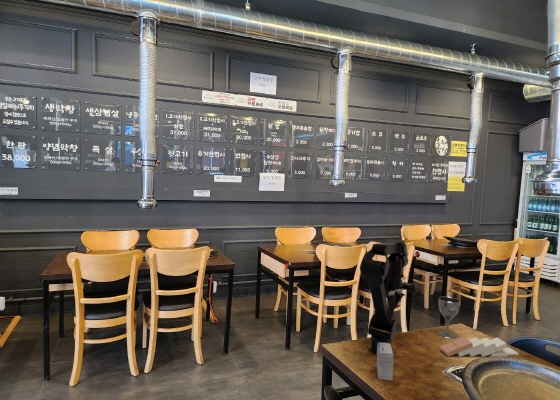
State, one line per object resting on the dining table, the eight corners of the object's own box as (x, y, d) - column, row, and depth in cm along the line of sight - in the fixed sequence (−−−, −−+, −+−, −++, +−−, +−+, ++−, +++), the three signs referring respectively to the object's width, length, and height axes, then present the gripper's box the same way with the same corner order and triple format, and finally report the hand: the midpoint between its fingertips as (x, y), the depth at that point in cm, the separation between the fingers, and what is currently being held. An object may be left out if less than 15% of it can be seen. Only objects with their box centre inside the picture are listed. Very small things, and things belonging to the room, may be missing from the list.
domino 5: (492, 353, 129) (518, 353, 129) (483, 347, 134) (509, 347, 134) (492, 357, 129) (518, 357, 129) (483, 351, 134) (508, 351, 134)
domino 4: (481, 352, 128) (506, 343, 129) (472, 346, 133) (497, 337, 134) (482, 357, 129) (507, 347, 129) (474, 350, 134) (498, 341, 134)
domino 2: (458, 352, 128) (483, 342, 128) (450, 346, 133) (475, 337, 133) (459, 357, 128) (485, 347, 128) (452, 350, 133) (476, 341, 133)
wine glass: (461, 339, 144) (463, 302, 143) (441, 338, 144) (443, 301, 143) (452, 331, 152) (454, 296, 151) (433, 330, 152) (435, 295, 151)
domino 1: (446, 352, 128) (471, 342, 128) (439, 346, 133) (463, 337, 133) (447, 356, 128) (473, 347, 128) (440, 350, 133) (465, 341, 133)
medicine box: (392, 381, 109) (393, 354, 109) (377, 379, 110) (379, 352, 110) (389, 369, 117) (391, 343, 117) (375, 367, 118) (377, 341, 118)
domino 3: (469, 352, 128) (494, 342, 129) (461, 346, 133) (486, 337, 134) (471, 357, 128) (496, 347, 129) (463, 350, 133) (487, 341, 134)
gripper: (395, 265, 150) (394, 301, 151) (361, 268, 141) (359, 307, 142) (417, 271, 140) (415, 310, 141) (381, 275, 132) (379, 316, 132)
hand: (392, 310), depth 139 cm, fingers closed
